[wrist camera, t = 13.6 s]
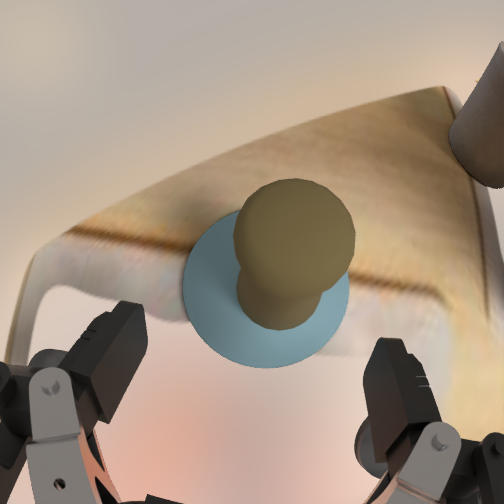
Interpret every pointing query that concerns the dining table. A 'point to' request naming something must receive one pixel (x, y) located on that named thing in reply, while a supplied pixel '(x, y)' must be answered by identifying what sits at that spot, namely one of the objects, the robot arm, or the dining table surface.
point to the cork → (290, 251)
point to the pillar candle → (483, 126)
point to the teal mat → (232, 316)
